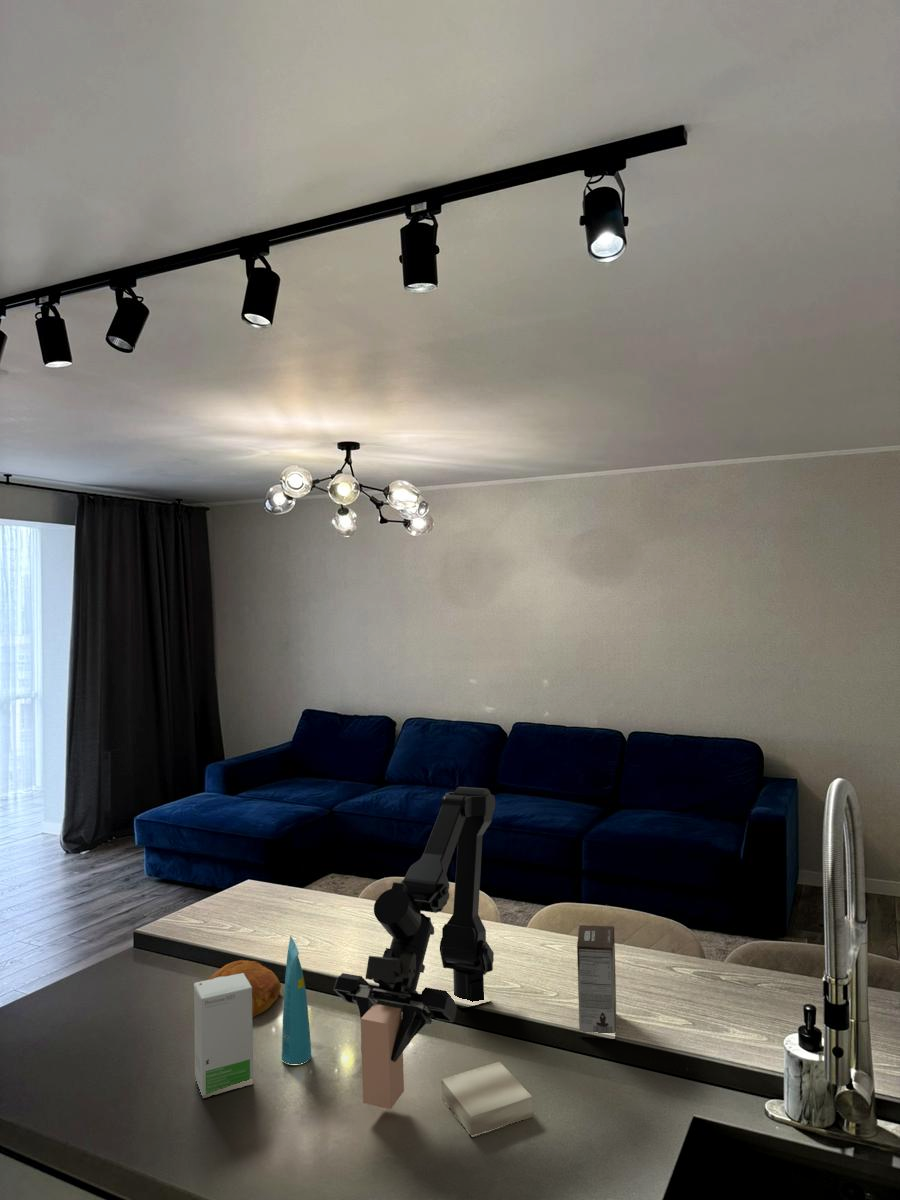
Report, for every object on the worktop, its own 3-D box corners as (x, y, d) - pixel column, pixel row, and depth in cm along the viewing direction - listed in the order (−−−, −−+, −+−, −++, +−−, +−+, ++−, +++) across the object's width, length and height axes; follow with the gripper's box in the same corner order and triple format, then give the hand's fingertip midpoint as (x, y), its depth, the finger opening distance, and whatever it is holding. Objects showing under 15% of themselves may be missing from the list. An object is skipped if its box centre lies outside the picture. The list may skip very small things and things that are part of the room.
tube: (317, 1065, 132) (313, 949, 132) (287, 1074, 130) (284, 955, 130) (304, 1043, 139) (301, 932, 139) (276, 1051, 137) (273, 938, 137)
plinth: (442, 1098, 123) (441, 1079, 123) (499, 1080, 127) (499, 1061, 127) (471, 1138, 114) (470, 1117, 114) (532, 1116, 118) (532, 1096, 118)
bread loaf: (186, 1027, 150) (180, 987, 149) (238, 977, 164) (232, 941, 163) (250, 1039, 144) (244, 998, 143) (298, 987, 158) (293, 949, 157)
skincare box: (201, 1101, 124) (198, 1000, 124) (193, 1078, 130) (190, 982, 129) (256, 1084, 128) (253, 986, 127) (246, 1063, 133) (243, 969, 133)
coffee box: (580, 1010, 147) (578, 923, 147) (616, 1013, 146) (614, 925, 146) (578, 1038, 138) (576, 945, 138) (616, 1041, 137) (614, 947, 137)
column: (377, 1085, 123) (374, 1003, 123) (403, 1091, 121) (401, 1008, 121) (363, 1102, 119) (360, 1018, 118) (390, 1109, 117) (388, 1024, 117)
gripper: (337, 922, 127) (301, 1028, 117) (447, 938, 120) (419, 1052, 110) (362, 950, 134) (330, 1052, 124) (467, 967, 127) (442, 1076, 117)
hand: (378, 1057), depth 118 cm, fingers closed on column, 4 cm apart
